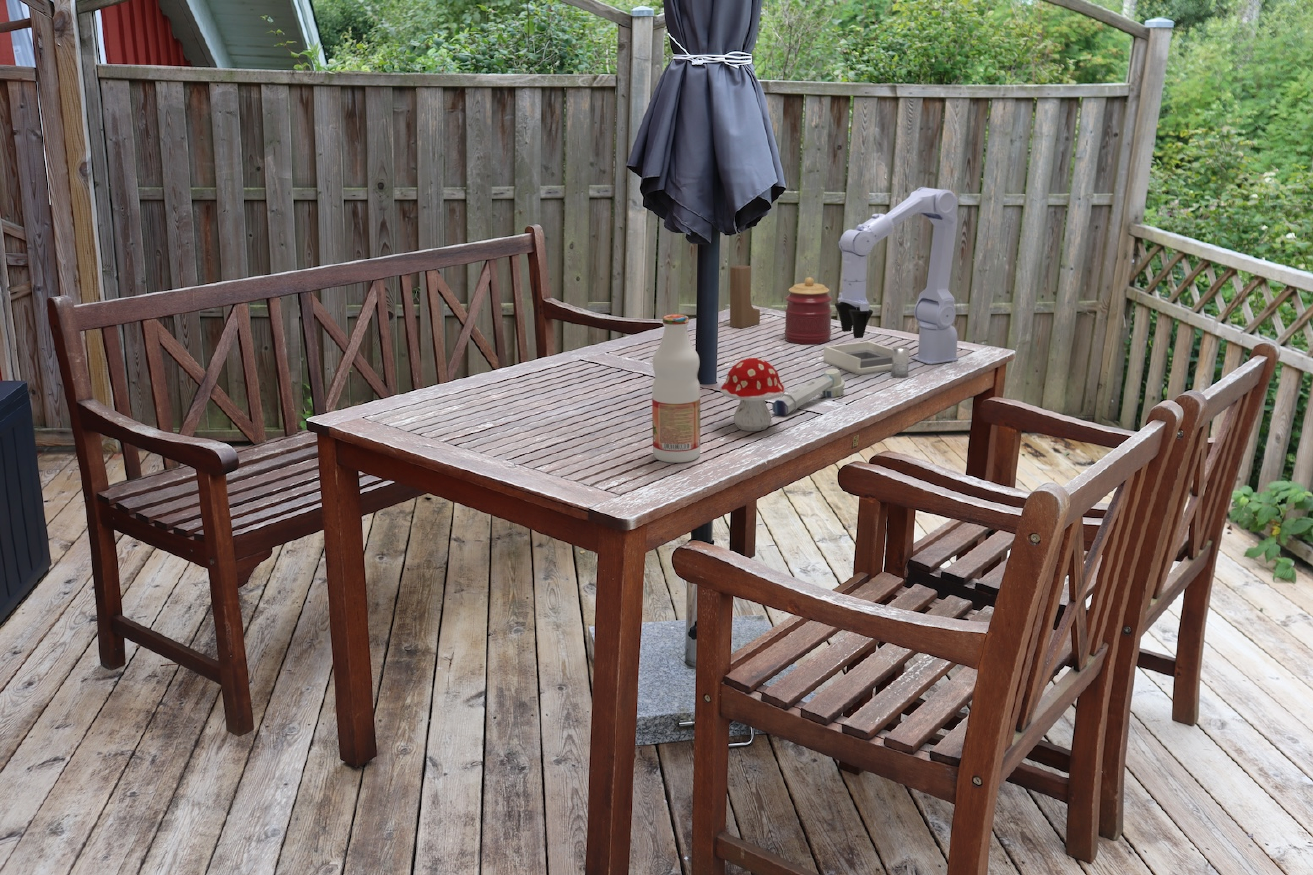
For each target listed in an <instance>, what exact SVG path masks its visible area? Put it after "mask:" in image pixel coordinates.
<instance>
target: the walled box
mask: <svg viewBox="0 0 1313 875" xmlns="http://www.w3.org/2000/svg"><path fill="white" fill-rule="evenodd" d="M892 351H893V347H892V348H891V347H889V346H885V345H881V344H880V343H879V344H878V343H876V342H873V341H869V340H864V341H858V342H849V343H844V344H843V343H842V344H834V345H827V346H823V363H826V364H828V365H831V366H834V367H836V368H839V369H842V370H845V371H847V372H850V373H851V374H855V375H857V376H863V375H871V374H878V373H885V372H891V371H892Z"/></svg>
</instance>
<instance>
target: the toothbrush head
mask: <svg viewBox="0 0 1313 875" xmlns="http://www.w3.org/2000/svg"><path fill="white" fill-rule="evenodd" d="M845 385H846V381H845V380H844V379H843V378H842V375H841V372H840V370H839V369H837V368H829V369H827V370H825V371H824V373H823V375H822V376H820V377H819V378H817V379H814V380H812V381H810V382H809V383H806V384H805V385H802V386H800V387H798V388H796V389H794V390H792V391H790V392H789V393H784V394H783V395H782V396H781V397H778V398H777V399H776V400H775V401H774V402H773V403H772V404H771V405H772V412H773V413H774V414H775V415H776V416H779V417H780V416H781V417H785V416H787V415H788V414H791V413H792V414H793V413H794V412H795V411H796V410H797V409H798V408H799V407H801V406H803V405H804V404H806V403H807V402H809V401H811V400H812V399H814V398H815V397H816V396H818V395H820V394H822V396H823V397H824V398H835V397H839V396H840V397H842V396H843V395H844V388H845ZM841 395H842V396H841Z"/></svg>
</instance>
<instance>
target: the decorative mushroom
mask: <svg viewBox="0 0 1313 875" xmlns="http://www.w3.org/2000/svg"><path fill="white" fill-rule="evenodd" d="M719 390H720V393H721V394H722V395H723V396H724V397H727V398H730V399H733V400H737V401H739V404H738V406H737V409H736V410H735V412H734V415H733V422H734V424H735V425H736V427H737V428H738V429H739V430H742V431H747V432H761V431H764V430H766V429H767V428H768V427H769V426H770V425H771V423H772V415H771V412H770V410H769V408H768V406H767V403H766V401H770V400H774V399H779V398H780V397H781V396H782V395H783V394H786V391H787V389H786V387H785V386H784V385H783V383H782V382H781V379H780V376H779V372H778V370H776V369H775V367H774V366H773V365H772V364H770V363H769V362H768V361H766V360H764V359H761V358H759V357H758V358H757V357H749V358H744V359H742V360H740V361H738V362H737V363H735V365H733V366H732V367H731V368H730V370H729V371H728V373H727V376H726V380H725V381H724V383H723V384H722V385H721V387H720V388H719Z"/></svg>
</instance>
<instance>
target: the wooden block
mask: <svg viewBox="0 0 1313 875" xmlns="http://www.w3.org/2000/svg"><path fill="white" fill-rule="evenodd" d="M729 269H730V271H729V273H730V274H729V276H730V277H729V278H730V279H729V281H730V282H729V326H730V327H731V328H735V329H746V328H749V327H753V326H758V325H759V324H760V323H761V322H760V320H761V319H760V318H761V317H760V316H761V309H759V308H754V307H753V306H752V300H751V298H752V296H751V294H752V293H751V292H752V290H751V288H752V286H751V284H752V266H750V265H744V264H738V265H737V264H736V265H731V266H730V268H729Z"/></svg>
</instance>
